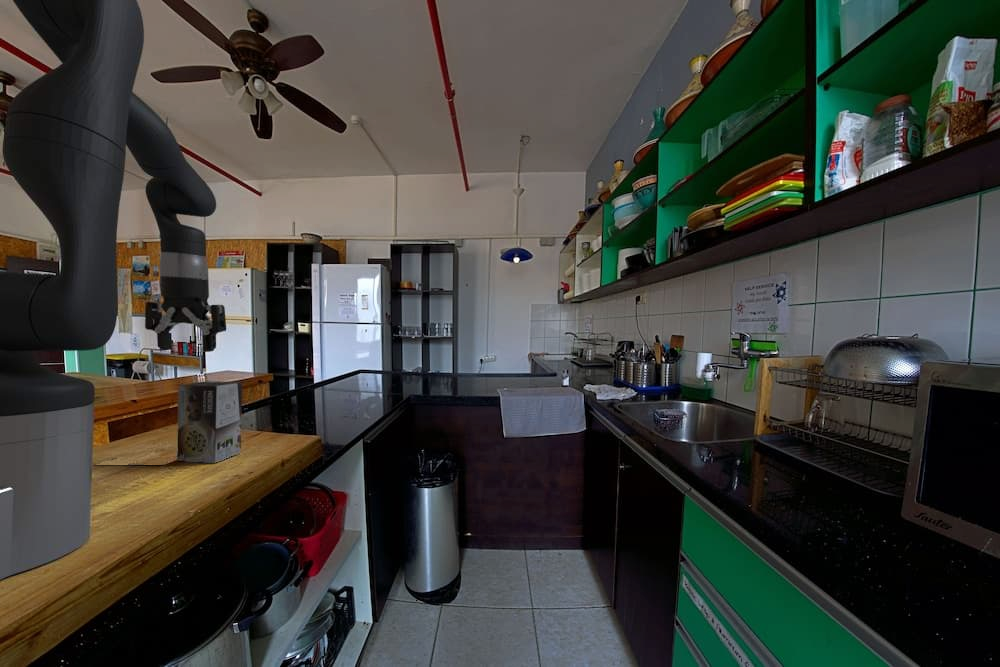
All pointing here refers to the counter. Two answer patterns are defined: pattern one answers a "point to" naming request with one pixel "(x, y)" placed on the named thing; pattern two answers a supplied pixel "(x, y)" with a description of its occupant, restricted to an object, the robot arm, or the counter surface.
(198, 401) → the coffee box
